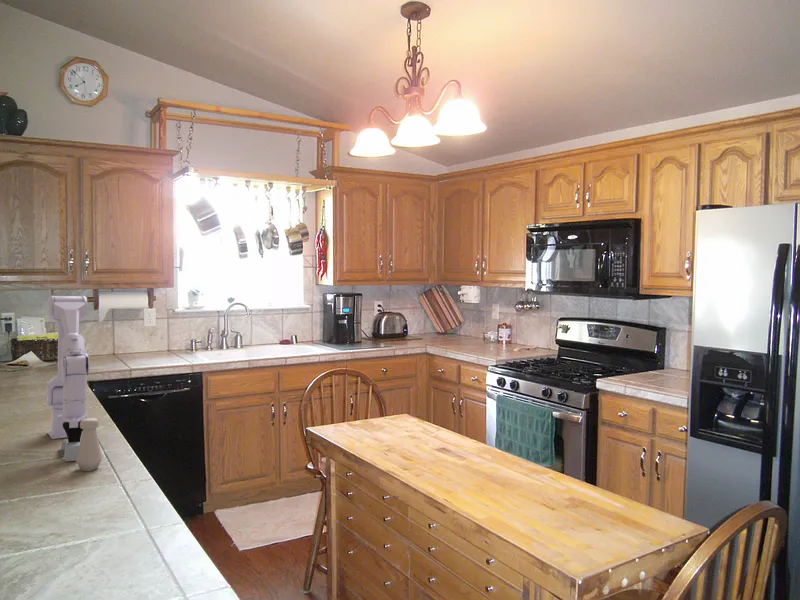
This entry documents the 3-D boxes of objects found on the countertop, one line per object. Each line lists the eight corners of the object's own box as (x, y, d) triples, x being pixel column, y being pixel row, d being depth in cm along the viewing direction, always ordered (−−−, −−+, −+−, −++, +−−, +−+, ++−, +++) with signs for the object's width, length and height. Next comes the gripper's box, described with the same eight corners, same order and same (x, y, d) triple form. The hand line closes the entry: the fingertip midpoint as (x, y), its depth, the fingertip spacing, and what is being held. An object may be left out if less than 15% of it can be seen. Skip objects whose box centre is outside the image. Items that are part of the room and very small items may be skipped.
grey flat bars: (62, 448, 172) (62, 441, 171) (88, 446, 175) (88, 439, 174) (60, 457, 164) (60, 449, 163) (87, 454, 167) (88, 447, 166)
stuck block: (65, 457, 163) (65, 442, 163) (82, 455, 164) (82, 441, 164) (65, 461, 159) (65, 446, 159) (81, 459, 161) (82, 445, 161)
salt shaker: (95, 463, 159) (96, 415, 158) (105, 468, 155) (106, 418, 155) (72, 468, 154) (72, 418, 154) (82, 473, 151) (82, 422, 150)
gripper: (59, 394, 169) (59, 442, 169) (56, 405, 156) (55, 456, 156) (87, 393, 172) (87, 440, 172) (86, 403, 159) (86, 453, 159)
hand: (74, 447), depth 164 cm, fingers closed
